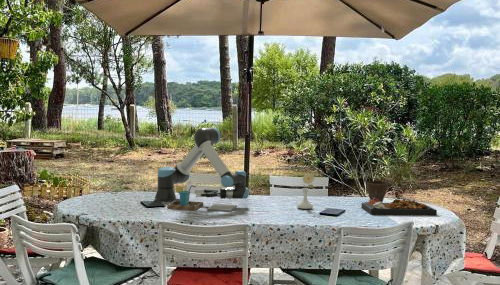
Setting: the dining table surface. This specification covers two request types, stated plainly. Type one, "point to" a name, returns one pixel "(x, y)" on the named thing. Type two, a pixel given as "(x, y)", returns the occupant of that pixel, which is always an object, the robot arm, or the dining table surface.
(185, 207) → the wooden picture frame
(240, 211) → the dining table surface
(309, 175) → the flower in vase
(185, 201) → the cup
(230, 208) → the board
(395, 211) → the food platter
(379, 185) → the plant pot
